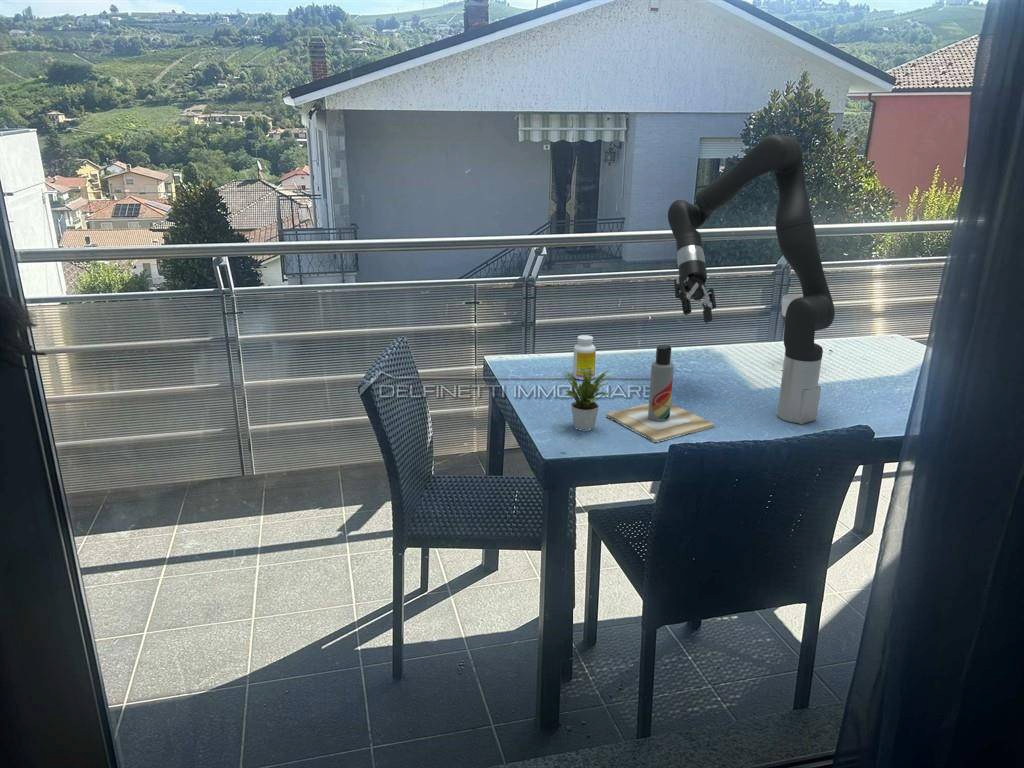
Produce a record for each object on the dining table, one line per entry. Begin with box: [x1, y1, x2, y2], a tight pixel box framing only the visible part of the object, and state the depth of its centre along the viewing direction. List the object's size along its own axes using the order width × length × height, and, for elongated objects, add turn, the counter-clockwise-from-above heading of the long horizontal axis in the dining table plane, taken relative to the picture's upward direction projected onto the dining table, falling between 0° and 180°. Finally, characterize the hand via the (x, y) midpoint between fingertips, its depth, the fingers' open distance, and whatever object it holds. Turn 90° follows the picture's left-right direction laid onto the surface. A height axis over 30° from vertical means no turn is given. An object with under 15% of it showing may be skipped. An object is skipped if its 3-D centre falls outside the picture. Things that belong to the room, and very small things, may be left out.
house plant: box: [564, 366, 617, 430], centre depth 201 cm, size 14×14×16 cm
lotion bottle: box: [648, 344, 675, 422], centre depth 205 cm, size 6×6×20 cm
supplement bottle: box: [572, 334, 597, 381], centre depth 240 cm, size 7×7×13 cm
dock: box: [605, 402, 715, 442], centre depth 208 cm, size 20×20×1 cm
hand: (698, 317), depth 214 cm, fingers open, 8 cm apart
